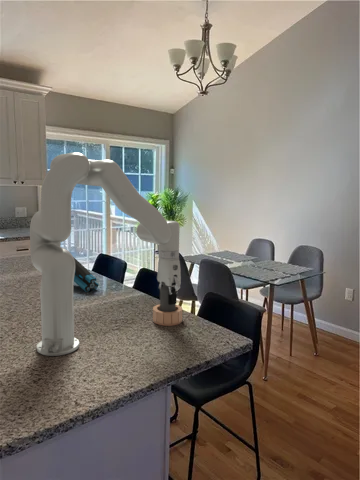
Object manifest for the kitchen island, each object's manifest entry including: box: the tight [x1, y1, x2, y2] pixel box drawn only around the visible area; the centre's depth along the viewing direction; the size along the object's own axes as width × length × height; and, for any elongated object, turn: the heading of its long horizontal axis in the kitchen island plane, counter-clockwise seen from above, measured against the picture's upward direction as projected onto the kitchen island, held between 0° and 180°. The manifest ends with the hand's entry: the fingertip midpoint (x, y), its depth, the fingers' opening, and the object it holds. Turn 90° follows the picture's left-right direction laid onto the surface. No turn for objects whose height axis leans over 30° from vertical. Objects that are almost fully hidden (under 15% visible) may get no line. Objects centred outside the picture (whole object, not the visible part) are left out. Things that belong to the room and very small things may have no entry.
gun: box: [73, 256, 99, 293], centre depth 184 cm, size 8×26×15 cm, turn 46°
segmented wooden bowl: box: [152, 303, 183, 327], centre depth 140 cm, size 11×11×5 cm
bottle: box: [159, 282, 177, 312], centre depth 139 cm, size 6×6×15 cm
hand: (167, 301), depth 139 cm, fingers closed on bottle, 5 cm apart
